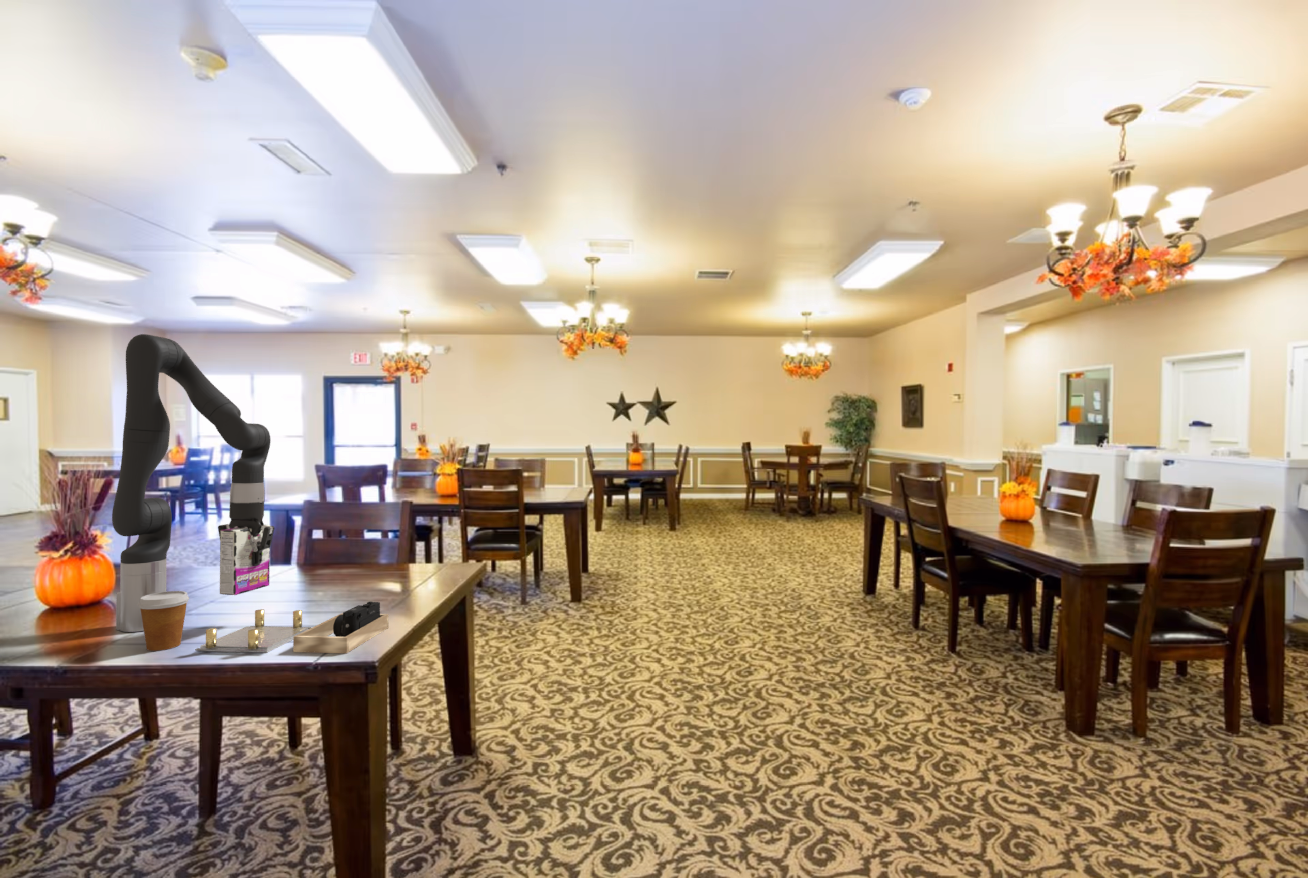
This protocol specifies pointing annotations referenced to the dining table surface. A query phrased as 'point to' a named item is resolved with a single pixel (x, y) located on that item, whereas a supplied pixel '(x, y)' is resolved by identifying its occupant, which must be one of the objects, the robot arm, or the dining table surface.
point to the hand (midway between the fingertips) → (245, 564)
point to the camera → (356, 618)
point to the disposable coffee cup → (163, 619)
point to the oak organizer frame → (322, 643)
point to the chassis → (254, 636)
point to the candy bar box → (241, 563)
